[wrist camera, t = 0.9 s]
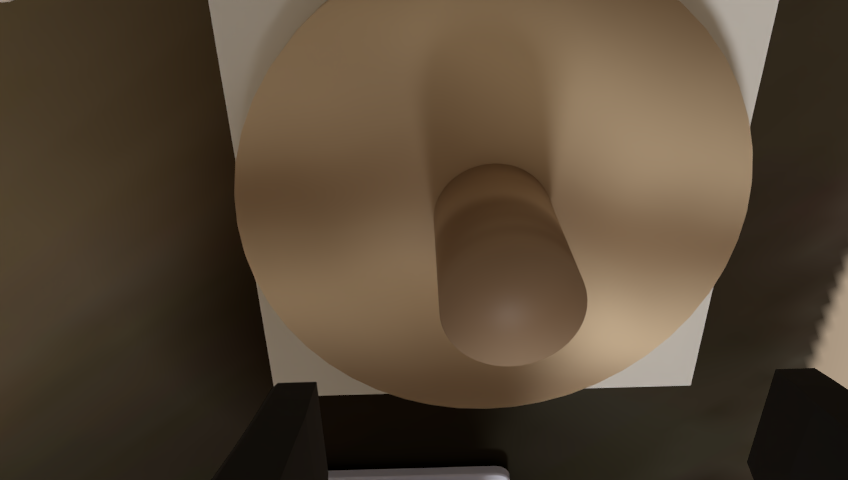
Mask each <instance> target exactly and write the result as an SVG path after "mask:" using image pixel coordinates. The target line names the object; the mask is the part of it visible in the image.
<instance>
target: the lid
mask: <svg viewBox="0 0 848 480" xmlns="http://www.w3.org/2000/svg"><path fill="white" fill-rule="evenodd" d="M752 158H753V148H752V140H751V133H750V125H749V118H748V114H747V111H746V107H745V104H744V100H743V97H742V93H741V90H740V87H739V85H738V82H737V80H736V78H735V76H734V74H733V72H732V70H731V68H730V65H729V63H728V61H727V59H726V57H725V55H724V54H723V53H722V51H721V50H720V48H719V47H718V45H717V44H716V42H715V41H714V39H713V38H712V36H711V35H710V34H709V32H708V31H707V29H706V28H705V27H704V26H703V25H702V24H701V23H700V22H699V21H698V20H697V18H696V17H695V16H694V15H693V14H692V13H691V12H690V11H689V10H688V9H687V8H686V7H685V6H684V5H683V4H682V3H681V2H680V1H679V0H327V1H326V2H325V3H323V4H322V5H321V6H320V7H319V8H318V9H317V10H316V11H315V12H314V13H313V14H312V15H311V16H310V17H309V18H308V19H307V20H306V21H305V22H304V23H303V24H302V25H301V26H300V27H299V28H298V30H297V31H296V32H295V33H294V34H293V36H292V37H291V39H290V40H289V41H288V43H287V44H286V45H285V47H284V48H283V50H282V51H281V52H280V54H279V55H278V56H277V58H276V59H275V61H274V62H273V63H272V65H271V66H270V68H269V69H268V71H267V73H266V75H265V77H264V79H263V81H262V83H261V85H260V86H259V88H258V90H257V92H256V94H255V96H254V98H253V100H252V103H251V106H250V109H249V111H248V114H247V117H246V120H245V123H244V126H243V129H242V132H241V137H240V142H239V147H238V152H237V158H236V163H235V186H234V198H235V207H236V217H237V225H238V229H239V233H240V237H241V241H242V245H243V249H244V253H245V256H246V258H247V260H248V263H249V265H250V268H251V270H252V273H253V275H254V278H255V280H256V282H257V283H258V285H259V287H260V289H261V290H262V292H263V294H264V295H265V297H266V299H267V301H268V302H269V304H270V306H271V307H272V308H273V309H274V311H275V312H276V313H277V315H278V316H279V317H280V318H281V320H282V321H283V322H284V324H285V325H286V326H287V327H288V328H289V329H290V330H291V331H292V332H293V333H294V334H295V335H296V336H297V337H298V338H299V339H300V340H301V341H302V342H303V343H304V344H305V345H306V346H307V347H308V348H309V349H310V350H312V351H313V352H314V353H316V354H317V355H318V356H319V357H321V358H322V359H323V360H324V361H326V362H327V363H328V364H330V365H332V366H333V367H335V368H336V369H338V370H340V371H341V372H343V373H345V374H346V375H348V376H350V377H351V378H353V379H355V380H357V381H360V382H362V383H364V384H366V385H368V386H370V387H372V388H375V389H377V390H379V391H382V392H385V393H388V394H391V395H394V396H397V397H400V398H403V399H407V400H412V401H416V402H420V403H425V404H429V405H437V406H445V407H453V408H474V409H489V408H503V407H515V406H521V405H526V404H532V403H538V402H543V401H547V400H550V399H554V398H557V397H561V396H565V395H568V394H571V393H574V392H576V391H579V390H582V389H584V388H587V387H589V386H592V385H595V384H597V383H599V382H601V381H603V380H605V379H607V378H609V377H611V376H613V375H615V374H617V373H619V372H621V371H623V370H624V369H626V368H627V367H629V366H631V365H632V364H634V363H635V362H637V361H638V360H640V359H642V358H643V357H645V356H646V355H648V354H649V353H650V352H651V351H653V350H654V349H655V348H656V347H658V346H659V345H660V344H661V343H663V342H664V341H665V340H666V339H668V338H669V337H670V336H671V335H672V334H673V333H674V332H675V331H676V330H677V329H678V328H679V327H680V326H681V325H682V324H683V323H684V322H685V321H686V320H687V319H688V318H689V317H690V316H691V315H692V314H693V313H694V311H695V310H696V309H697V308H698V306H699V305H700V304H701V303H702V301H703V300H704V299H705V298H706V296H707V295H708V294H709V292H710V291H711V289H712V288H713V286H714V285H715V283H716V281H717V280H718V278H719V277H720V275H721V273H722V272H723V270H724V269H725V267H726V265H727V262H728V260H729V258H730V256H731V254H732V252H733V249H734V247H735V245H736V243H737V241H738V238H739V235H740V232H741V228H742V225H743V222H744V219H745V216H746V212H747V207H748V202H749V196H750V190H751V184H752Z"/></svg>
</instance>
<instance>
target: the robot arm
mask: <svg viewBox="0 0 848 480" xmlns="http://www.w3.org/2000/svg"><path fill="white" fill-rule="evenodd" d="M747 463H748V466H749V468H750V471H751V474H752V476H753V479H754V480H848V390H847V389H846V388H844V387H843V386H841V385H840V384H839V383H837V382H835V381H834V380H832V379H831V378H829V377H828V376H826V375H825V374H823V373H821V372H820V371H818V370H817V369H815V368H805V369H776V370H775V373H774V377H773V380H772V383H771V386H770V389H769V393H768V396H767V399H766V402H765V406H764V409H763V412H762V415H761V419H760V422H759V425H758V428H757V432H756V435H755V438H754V441H753V445H752V448H751V451H750V454H749V458H748V461H747ZM211 480H510V477H509V472H508V471H507V470H506V469H505V468H503V467H500V466H473V467H438V468H402V469H367V470H332V471H328V466H327V458H326V450H325V443H324V435H323V427H322V420H321V412H320V404H319V396H318V389H317V382H291V383H277V384H276V385H275V386H274V387H273V388H272V389H271V390H270V392H269V394H268V395H267V397H266V399H265V400H264V402H263V404H262V405H261V407H260V409H259V410H258V412H257V413H256V415H255V417H254V418H253V420H252V421H251V423H250V424H249V426H248V427H247V429H246V431H245V432H244V434H243V435H242V437H241V438H240V440H239V441H238V443H237V444H236V445H235V447H234V448H233V450H232V451H231V453H230V454H229V456H228V457H227V458H226V460H225V461H224V463H223V464H222V465H221V467H220V468H219V470H218V471H217V472H216V474H215V475H214V477H213V478H212V479H211Z"/></svg>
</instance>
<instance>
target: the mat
mask: <svg viewBox="0 0 848 480" xmlns="http://www.w3.org/2000/svg"><path fill="white" fill-rule="evenodd" d="M326 1H327V0H208V3H209V8H210V14H211V20H212V26H213V32H214V38H215V44H216V50H217V55H218V61H219V67H220V73H221V79H222V85H223V91H224V97H225V103H226V108H227V114H228V120H229V126H230V132H231V138H232V144H233V150H234V155H235V161H236V158H237V152H238V147H239V142H240V137H241V132H242V129H243V126H244V123H245V120H246V117H247V114H248V111H249V109H250V106H251V103H252V100H253V98H254V96H255V94H256V92H257V90H258V88H259V86H260V85H261V83H262V81H263V79H264V77H265V75H266V73H267V71H268V69H269V68H270V66H271V65H272V63H273V62H274V61H275V59H276V58H277V56H278V55H279V54H280V52H281V51H282V50H283V48H284V47H285V45H286V44H287V43H288V41H289V40H290V39H291V37H292V36H293V34H294V33H295V32H296V31H297V30H298V28H299V27H300V26H301V25H302V24H303V23H304V22H305V21H306V20H307V19H308V18H309V17H310V16H311V15H312V14H313V13H314V12H315V11H316V10H317V9H318V8H319V7H320V6H321V5H322V4H323V3H325V2H326ZM679 1H680V2H681V3H682V4H683V5H684V6H685V7H686V8H687V9H688V10H689V11H690V12H691V13H692V14H693V15H694V16H695V17H696V18H697V20H698V21H699V22H700V23H701V24H702V25H703V26H704V27H705V28H706V29H707V31H708V32H709V34H710V35H711V36H712V38H713V39H714V41H715V42H716V44H717V45H718V47H719V48H720V50H721V51H722V53H723V54H724V55H725V57H726V59H727V61H728V63H729V65H730V68H731V70H732V72H733V74H734V76H735V78H736V80H737V82H738V85H739V87H740V90H741V93H742V97H743V100H744V104H745V107H746V111H747V114H748V118H749V125H750V124H751V120H752V115H753V111H754V107H755V102H756V98H757V94H758V89H759V85H760V80H761V76H762V72H763V67H764V63H765V59H766V54H767V50H768V45H769V41H770V37H771V32H772V28H773V24H774V19H775V15H776V11H777V6H778V2H779V0H679ZM256 285H257V291H258V297H259V303H260V308H261V314H262V320H263V326H264V332H265V338H266V344H267V350H268V356H269V361H270V367H271V373H272V379H273V385H274V386H275V385H276V384H277V383H291V382H317V389H318V396H325V395H361V394H388V393H385V392H382V391H379V390H377V389H375V388H372V387H370V386H368V385H366V384H364V383H362V382H360V381H357V380H355V379H353V378H351V377H350V376H348V375H346V374H345V373H343V372H341V371H340V370H338V369H336V368H335V367H333V366H332V365H330V364H328V363H327V362H326V361H324V360H323V359H322V358H321V357H319V356H318V355H317V354H316V353H314V352H313V351H312V350H310V349H309V348H308V347H307V346H306V345H305V344H304V343H303V342H302V341H301V340H300V339H299V338H298V337H297V336H296V335H295V334H294V333H293V332H292V331H291V330H290V329H289V328H288V327H287V326H286V325H285V324H284V322H283V321H282V320H281V318H280V317H279V316H278V315H277V313H276V312H275V311H274V309H273V308H272V307H271V306H270V304H269V302H268V301H267V299H266V297H265V295H264V294H263V292H262V290H261V289H260V287H259V285H258V283H257V282H256ZM712 290H713V288H712V289H711V291H710V292H709V294H708V295H707V296H706V298H705V299H704V300H703V301H702V303H701V304H700V305H699V306H698V308H697V309H696V310H695V311H694V313H693V314H692V315H691V316H690V317H689V318H688V319H687V320H686V321H685V322H684V323H683V324H682V325H681V326H680V327H679V328H678V329H677V330H676V331H675V332H674V333H673V334H672V335H671V336H670V337H669V338H668V339H666V340H665V341H664V342H663V343H661V344H660V345H659V346H658V347H656V348H655V349H654V350H653V351H651V352H650V353H649V354H648V355H646V356H645V357H643V358H642V359H640V360H638V361H637V362H635V363H634V364H632V365H631V366H629V367H627V368H626V369H624V370H623V371H621V372H619V373H617V374H615V375H613V376H611V377H609V378H607V379H605V380H603V381H601V382H599V383H597V384H595V385H592V386H589V387H587V388H613V387H649V386H685V385H691V382H692V377H693V373H694V369H695V364H696V360H697V355H698V351H699V347H700V342H701V338H702V334H703V329H704V325H705V321H706V316H707V312H708V307H709V303H710V299H711V294H712Z"/></svg>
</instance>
